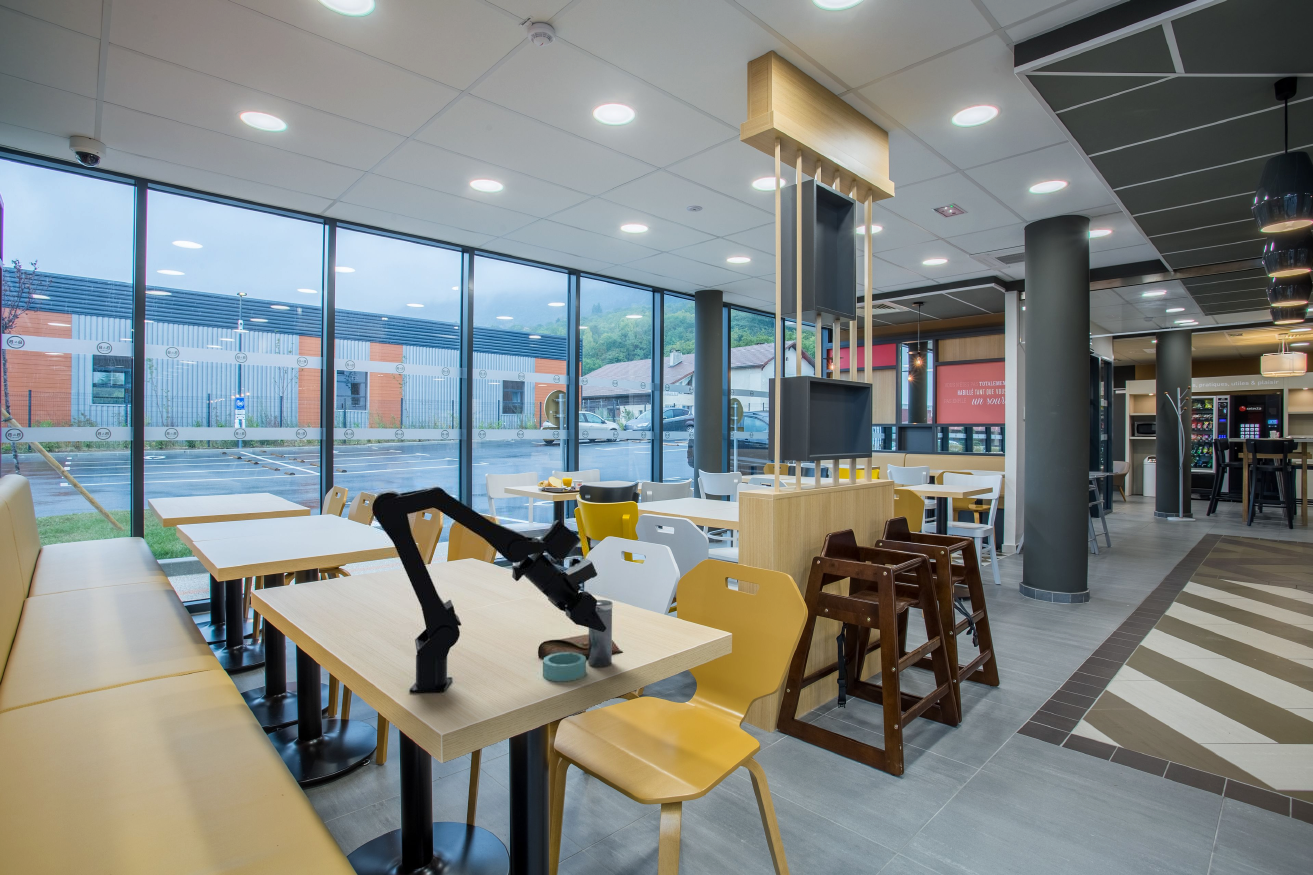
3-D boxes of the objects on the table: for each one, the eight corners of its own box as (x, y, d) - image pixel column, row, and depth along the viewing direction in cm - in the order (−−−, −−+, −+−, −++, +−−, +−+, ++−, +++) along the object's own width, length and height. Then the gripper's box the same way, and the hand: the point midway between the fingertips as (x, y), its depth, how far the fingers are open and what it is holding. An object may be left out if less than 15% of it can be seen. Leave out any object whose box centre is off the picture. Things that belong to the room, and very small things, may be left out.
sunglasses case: (554, 667, 133) (547, 635, 136) (541, 676, 138) (535, 645, 141) (626, 651, 144) (618, 622, 147) (611, 660, 149) (604, 632, 152)
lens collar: (584, 680, 126) (584, 665, 126) (540, 681, 125) (540, 666, 125) (586, 666, 134) (586, 651, 134) (546, 666, 134) (546, 652, 134)
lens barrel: (611, 667, 134) (612, 605, 134) (587, 667, 133) (587, 605, 134) (612, 659, 139) (612, 599, 139) (588, 659, 138) (588, 599, 139)
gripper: (587, 554, 126) (638, 604, 130) (561, 542, 143) (608, 586, 147) (548, 598, 122) (602, 648, 127) (526, 580, 139) (575, 624, 144)
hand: (597, 624), depth 136 cm, fingers open, 9 cm apart
